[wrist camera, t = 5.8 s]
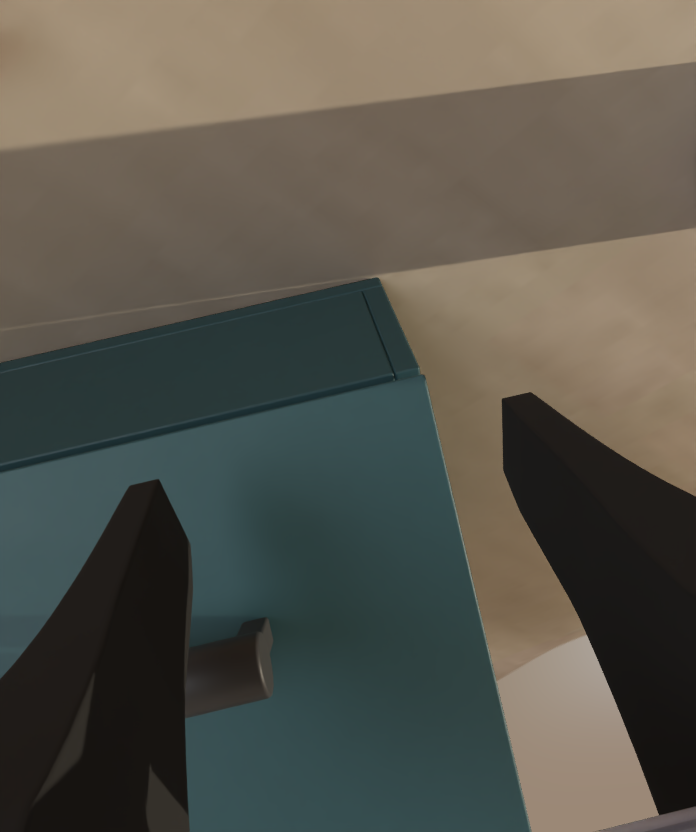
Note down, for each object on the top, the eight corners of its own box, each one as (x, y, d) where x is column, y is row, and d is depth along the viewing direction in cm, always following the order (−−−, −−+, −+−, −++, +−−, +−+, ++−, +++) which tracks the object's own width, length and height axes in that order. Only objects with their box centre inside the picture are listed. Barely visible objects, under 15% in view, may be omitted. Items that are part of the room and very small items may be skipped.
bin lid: (549, 923, 17) (610, 1063, 13) (-21, 1067, 17) (-124, 1253, 13) (421, 375, 17) (446, 361, 14) (-147, 506, 17) (-285, 530, 13)
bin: (419, 549, 31) (453, 656, 26) (100, 625, 30) (80, 746, 26) (378, 276, 22) (419, 367, 17) (-74, 378, 21) (-150, 498, 17)
